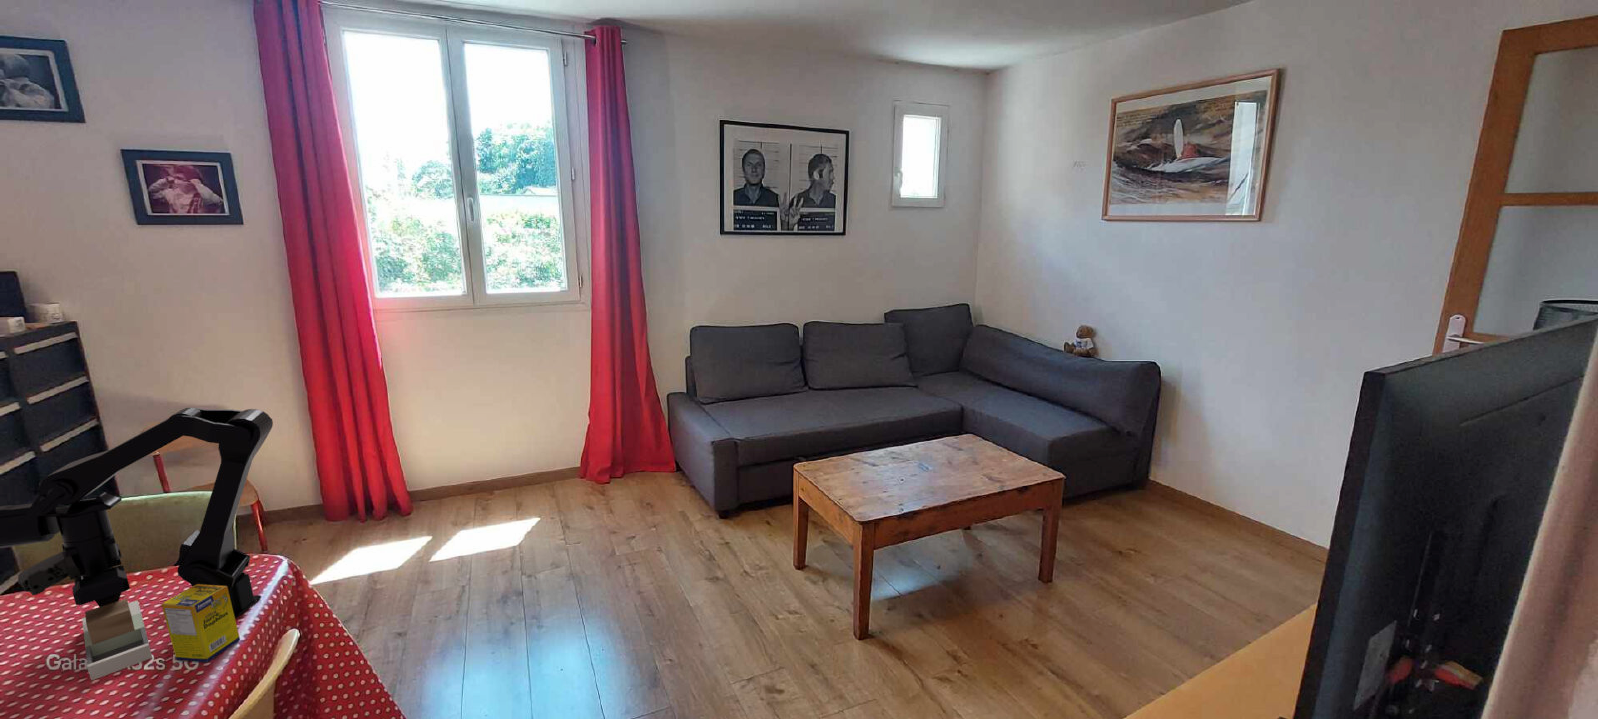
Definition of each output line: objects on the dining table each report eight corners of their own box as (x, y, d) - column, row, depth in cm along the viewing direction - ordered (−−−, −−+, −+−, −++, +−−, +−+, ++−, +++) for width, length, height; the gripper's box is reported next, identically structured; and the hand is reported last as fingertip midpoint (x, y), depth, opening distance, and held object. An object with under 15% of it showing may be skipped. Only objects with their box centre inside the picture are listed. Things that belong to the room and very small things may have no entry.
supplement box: (241, 640, 112) (228, 584, 109) (207, 663, 106) (192, 606, 103) (210, 637, 112) (197, 582, 110) (175, 661, 107) (160, 603, 104)
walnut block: (91, 632, 110) (84, 611, 109) (132, 618, 114) (126, 598, 113) (92, 644, 107) (86, 623, 106) (134, 630, 110) (129, 609, 109)
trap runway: (84, 622, 116) (81, 610, 116) (139, 604, 122) (135, 592, 121) (91, 680, 102) (87, 667, 102) (152, 657, 107) (148, 644, 107)
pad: (87, 644, 111) (83, 631, 110) (144, 624, 116) (140, 612, 115) (89, 659, 107) (85, 646, 106) (147, 638, 112) (144, 626, 111)
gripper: (15, 534, 109) (40, 614, 113) (13, 574, 98) (41, 661, 101) (109, 511, 118) (129, 586, 121) (118, 545, 106) (140, 627, 110)
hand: (110, 613), depth 113 cm, fingers closed
